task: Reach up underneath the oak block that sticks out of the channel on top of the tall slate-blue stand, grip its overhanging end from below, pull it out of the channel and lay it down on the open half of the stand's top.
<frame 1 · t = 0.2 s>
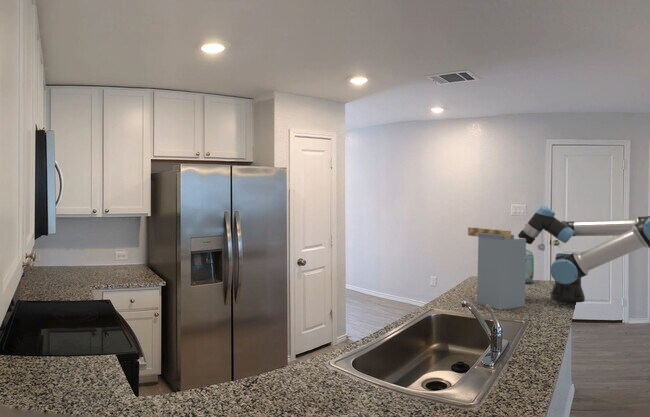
hand: (503, 266, 241), 16 cm above the countertop, tool tilted 35°, fingers open, 13 cm apart
lunch box: (509, 281, 284), on the countertop
oak block: (488, 237, 225), point 32 cm above the countertop, touching stand
stand: (500, 305, 224), on the countertop
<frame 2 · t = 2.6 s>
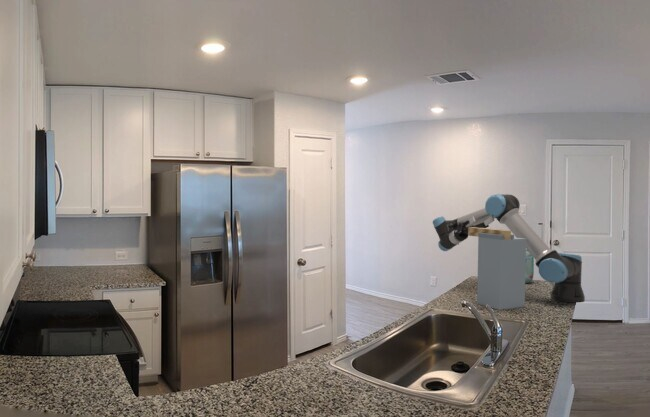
hand: (483, 218, 249), 40 cm above the countertop, tool pointing upward, fingers open, 13 cm apart
nothing on the countertop moved.
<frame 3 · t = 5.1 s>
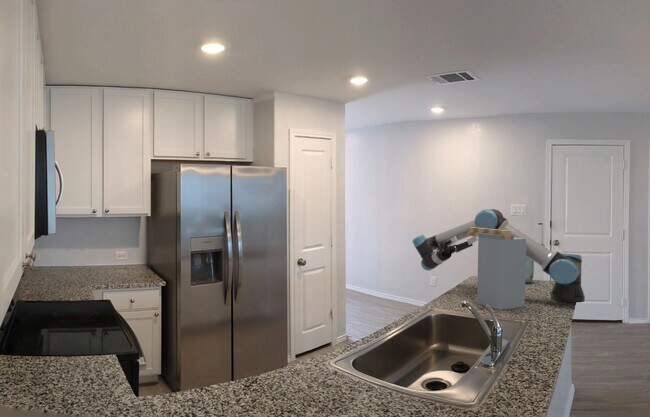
hand: (466, 237, 237), 30 cm above the countertop, tool pointing upward, fingers open, 13 cm apart
nothing on the countertop moved.
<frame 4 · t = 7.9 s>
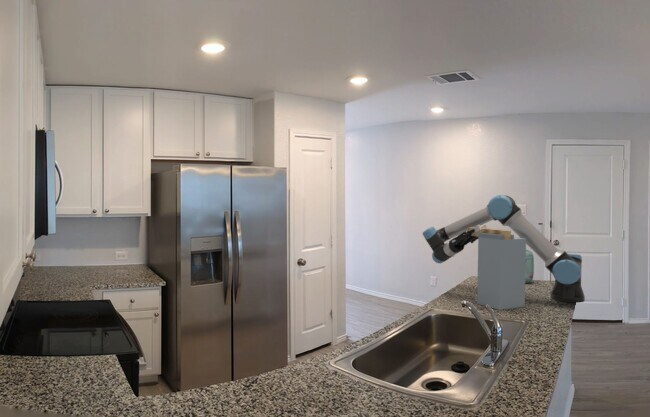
hand: (483, 227, 228), 37 cm above the countertop, tool pointing upward, fingers closed on oak block, 4 cm apart
oak block: (488, 237, 225), point 32 cm above the countertop, touching gripper, stand
everything else where it was.
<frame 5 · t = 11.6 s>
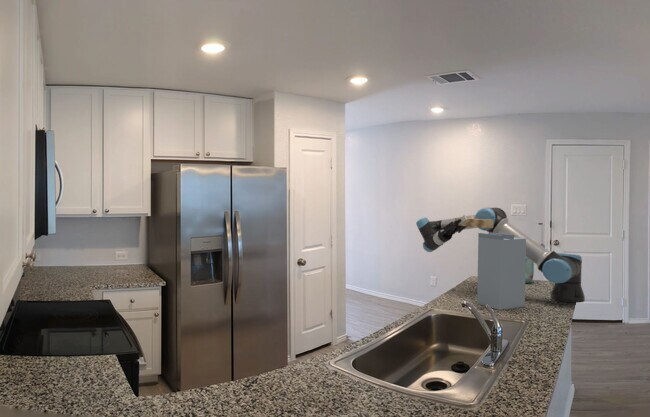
hand: (469, 217, 247), 40 cm above the countertop, tool pointing upward, fingers closed on oak block, 4 cm apart
oak block: (473, 226, 244), point 36 cm above the countertop, touching gripper
everything else where it was.
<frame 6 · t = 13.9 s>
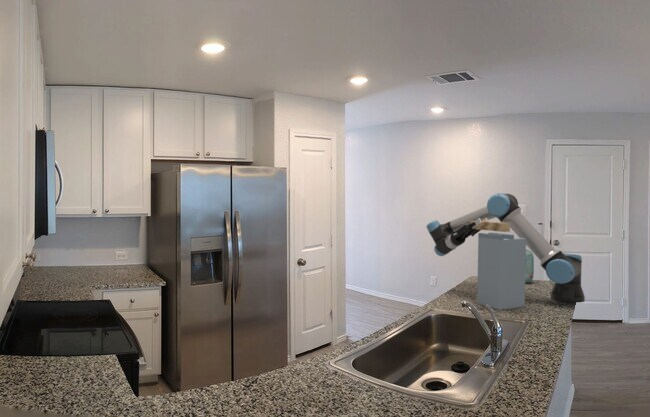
hand: (483, 220, 236), 39 cm above the countertop, tool pointing upward, fingers closed on oak block, 4 cm apart
oak block: (488, 230, 234), point 35 cm above the countertop, touching gripper
everything else where it was.
when the fingers open (39 cm above the countertop, at t = 15.8 s): oak block drops 2 cm, resting on stand.
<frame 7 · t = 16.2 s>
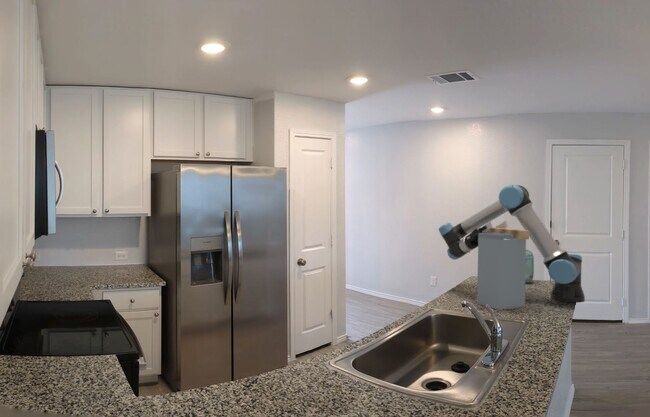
hand: (499, 223, 229), 38 cm above the countertop, tool pointing upward, fingers open, 9 cm apart
oak block: (505, 237, 226), point 32 cm above the countertop, touching stand
everything else where it was.
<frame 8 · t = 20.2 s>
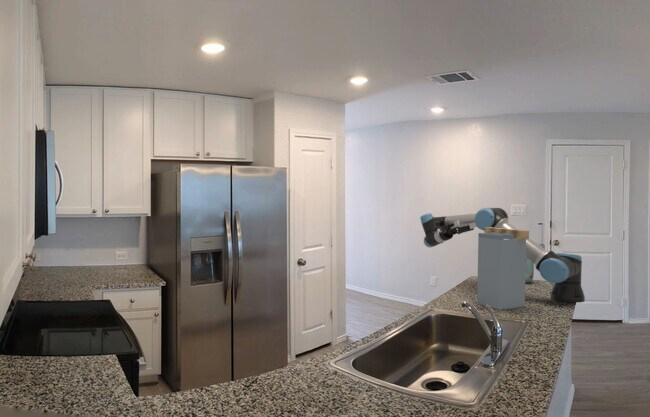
hand: (468, 222, 253), 37 cm above the countertop, tool pointing upward, fingers open, 13 cm apart
nothing on the countertop moved.
at the end: oak block inside the target area on the stand (0.7 cm from its centre), point 32.0 cm above the stand's base; oak block moved 8.6 cm from its start; the gripper is holding nothing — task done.
